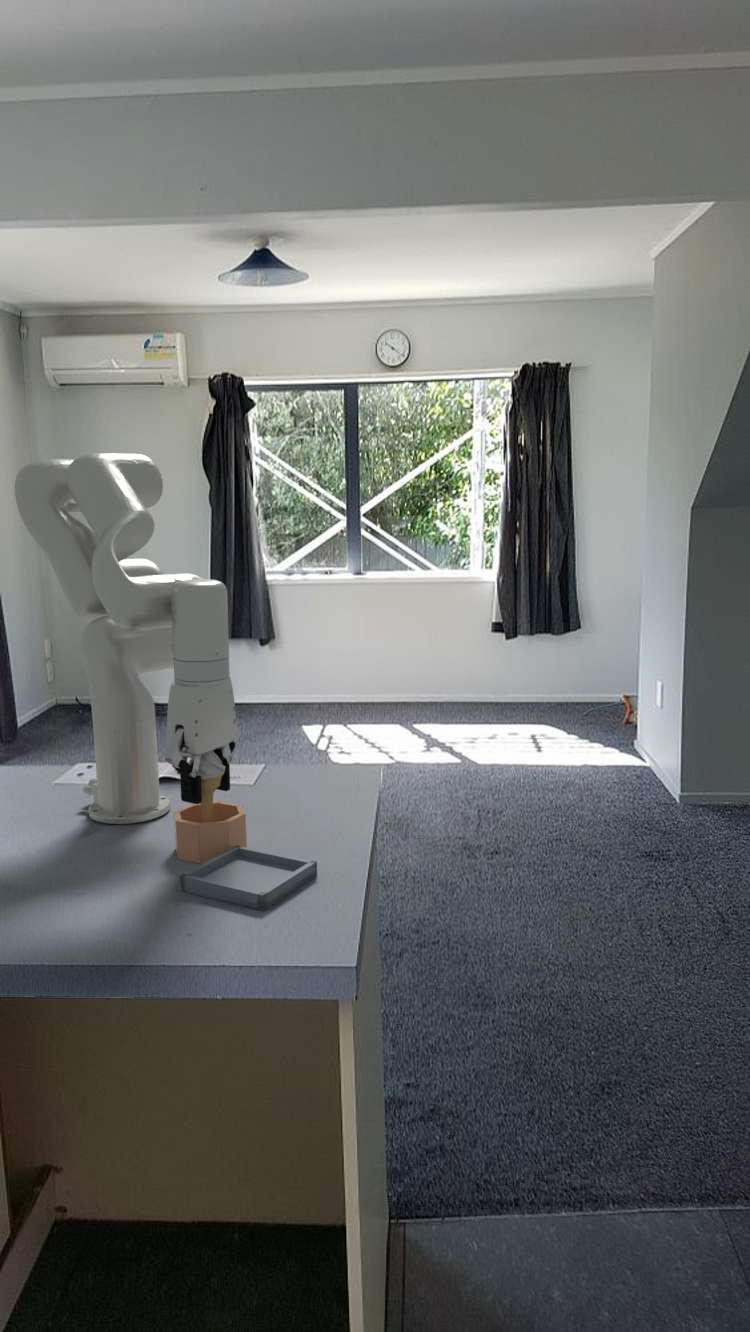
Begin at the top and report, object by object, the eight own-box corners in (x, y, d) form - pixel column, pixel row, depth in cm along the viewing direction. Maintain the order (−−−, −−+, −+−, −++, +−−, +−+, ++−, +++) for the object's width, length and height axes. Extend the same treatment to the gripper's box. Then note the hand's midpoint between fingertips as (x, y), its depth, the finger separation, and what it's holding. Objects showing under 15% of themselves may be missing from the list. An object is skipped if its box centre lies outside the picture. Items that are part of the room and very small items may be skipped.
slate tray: (180, 890, 122) (179, 875, 122) (237, 858, 132) (237, 845, 132) (263, 910, 116) (263, 895, 115) (317, 875, 126) (316, 861, 126)
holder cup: (162, 855, 134) (160, 817, 133) (206, 833, 142) (204, 798, 141) (216, 867, 129) (214, 828, 128) (258, 844, 138) (257, 807, 137)
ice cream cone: (219, 846, 133) (216, 742, 130) (181, 843, 134) (177, 740, 131) (232, 832, 138) (230, 732, 135) (196, 829, 139) (192, 730, 136)
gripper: (219, 657, 140) (222, 775, 144) (137, 678, 126) (143, 809, 129) (261, 662, 137) (263, 783, 140) (181, 684, 122) (186, 819, 126)
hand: (206, 794), depth 135 cm, fingers closed on ice cream cone, 5 cm apart
